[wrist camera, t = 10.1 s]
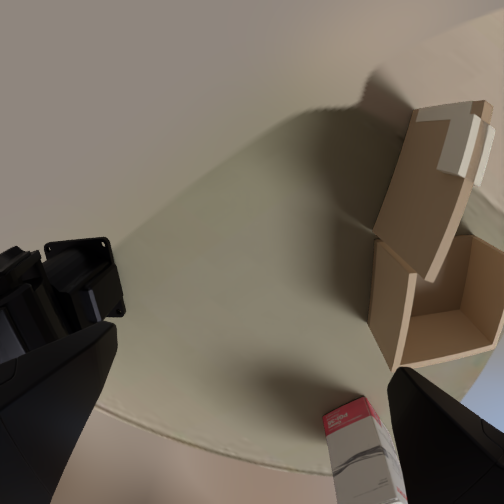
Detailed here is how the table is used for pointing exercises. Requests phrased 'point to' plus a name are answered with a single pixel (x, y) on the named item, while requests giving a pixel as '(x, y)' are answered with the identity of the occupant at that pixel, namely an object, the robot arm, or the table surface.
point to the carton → (437, 304)
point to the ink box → (363, 456)
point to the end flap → (435, 182)
